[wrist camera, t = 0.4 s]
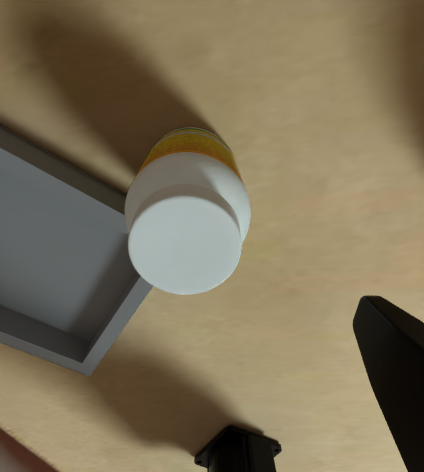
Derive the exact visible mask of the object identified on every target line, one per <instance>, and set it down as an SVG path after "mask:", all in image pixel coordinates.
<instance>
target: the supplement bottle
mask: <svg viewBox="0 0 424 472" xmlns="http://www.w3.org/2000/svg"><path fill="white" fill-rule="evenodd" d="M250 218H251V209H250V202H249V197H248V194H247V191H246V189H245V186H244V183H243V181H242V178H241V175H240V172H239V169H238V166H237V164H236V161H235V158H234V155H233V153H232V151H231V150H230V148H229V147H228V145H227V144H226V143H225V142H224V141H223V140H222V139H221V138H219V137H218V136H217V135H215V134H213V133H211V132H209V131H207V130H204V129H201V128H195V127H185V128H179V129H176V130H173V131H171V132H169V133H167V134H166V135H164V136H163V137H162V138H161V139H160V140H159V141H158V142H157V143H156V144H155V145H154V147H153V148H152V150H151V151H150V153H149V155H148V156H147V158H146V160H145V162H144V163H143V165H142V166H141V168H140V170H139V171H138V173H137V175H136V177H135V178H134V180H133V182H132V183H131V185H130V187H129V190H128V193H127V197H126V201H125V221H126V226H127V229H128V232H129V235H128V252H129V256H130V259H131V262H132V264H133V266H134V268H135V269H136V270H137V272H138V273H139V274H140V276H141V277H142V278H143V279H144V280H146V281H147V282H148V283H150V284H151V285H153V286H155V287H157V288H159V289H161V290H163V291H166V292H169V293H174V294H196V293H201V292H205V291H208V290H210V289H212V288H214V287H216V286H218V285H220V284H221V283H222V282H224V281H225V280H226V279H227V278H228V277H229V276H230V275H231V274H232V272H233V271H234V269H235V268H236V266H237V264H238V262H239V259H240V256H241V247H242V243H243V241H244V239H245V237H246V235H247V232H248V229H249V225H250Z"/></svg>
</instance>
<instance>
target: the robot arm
mask: <svg viewBox="0 0 424 472" xmlns="http://www.w3.org/2000/svg"><path fill="white" fill-rule="evenodd" d="M353 330H354V333H355V337H356V340H357V343H358V346H359V349H360V352H361V356H362V359H363V362H364V365H365V368H366V372H367V375H368V378H369V381H370V384H371V386H372V389H373V392H374V394H375V396H376V399H377V401H378V403H379V406H380V408H381V410H382V413H383V415H384V417H385V420H386V422H387V424H388V427H389V429H390V431H391V433H392V436H393V438H394V440H395V443H396V445H397V447H398V450H399V452H400V454H401V457H402V459H403V461H404V464H405V466H406V468H407V470H408V472H424V323H423V322H422V321H420V320H418V319H417V318H415V317H414V316H412V315H410V314H409V313H407V312H405V311H404V310H402V309H401V308H399V307H397V306H396V305H394V304H392V303H391V302H389V301H388V300H386V299H384V298H383V297H381V296H363V297H362V298H361V299H360V301H359V304H358V307H357V310H356V313H355V316H354V319H353ZM281 451H282V449H281V445H280V444H278V443H276V442H273V441H271V440H268V439H265V438H263V437H260V436H258V435H255V434H253V433H250V432H247V431H245V430H242V429H240V428H237V427H234V426H227V427H226V428H225V429H224V430H223V431H222V432H221V433H220V434H219V435H218V436H216V437H215V438H214V439H213V440H212V441H211V442H210V443H209V444H208V445H207V446H206V447H205V448H204V449H203V450H202V451H201V452H200V453H198V454H197V455H196V456H195V459H194V462H195V464H196V465H199V466H202V467H205V468H207V472H276V468H275V463H274V457H275V456H276V455H277V454H279V453H280V452H281Z"/></svg>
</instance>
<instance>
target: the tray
mask: <svg viewBox="0 0 424 472" xmlns="http://www.w3.org/2000/svg"><path fill="white" fill-rule="evenodd" d="M126 197H127V195H125V194H123V193H121V192H120V191H118V190H116V189H114V188H112V187H111V186H109V185H107V184H105V183H104V182H102V181H100V180H98V179H96V178H95V177H93V176H91V175H89V174H88V173H86V172H84V171H82V170H80V169H79V168H77V167H75V166H73V165H72V164H70V163H68V162H66V161H64V160H63V159H61V158H59V157H57V156H56V155H54V154H52V153H50V152H48V151H47V150H45V149H43V148H41V147H40V146H38V145H36V144H34V143H32V142H31V141H29V140H27V139H25V138H23V137H22V136H20V135H18V134H16V133H15V132H13V131H11V130H9V129H7V128H6V127H4V126H2V125H0V343H3V344H5V345H8V346H10V347H13V348H16V349H18V350H21V351H24V352H26V353H29V354H31V355H34V356H37V357H39V358H42V359H45V360H47V361H50V362H52V363H55V364H58V365H60V366H63V367H66V368H68V369H71V370H73V371H76V372H79V373H81V374H84V375H87V376H89V377H90V375H91V374H92V372H93V371H94V370H95V368H96V367H97V365H98V364H99V363H100V361H101V360H102V358H103V357H104V355H105V354H106V353H107V351H108V350H109V348H110V347H111V345H112V344H113V343H114V341H115V340H116V338H117V337H118V335H119V334H120V333H121V331H122V330H123V328H124V327H125V325H126V324H127V323H128V321H129V320H130V318H131V317H132V315H133V314H134V313H135V311H136V310H137V308H138V307H139V305H140V304H141V303H142V301H143V300H144V298H145V297H146V295H147V294H148V293H149V291H150V290H151V288H152V287H153V285H151V284H150V283H148V282H147V281H146V280H144V279H143V278H142V277H141V276H140V274H139V273H138V272H137V270H136V269H135V268H134V266H133V264H132V262H131V259H130V256H129V252H128V235H129V232H128V229H127V226H126V221H125V201H126Z"/></svg>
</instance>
